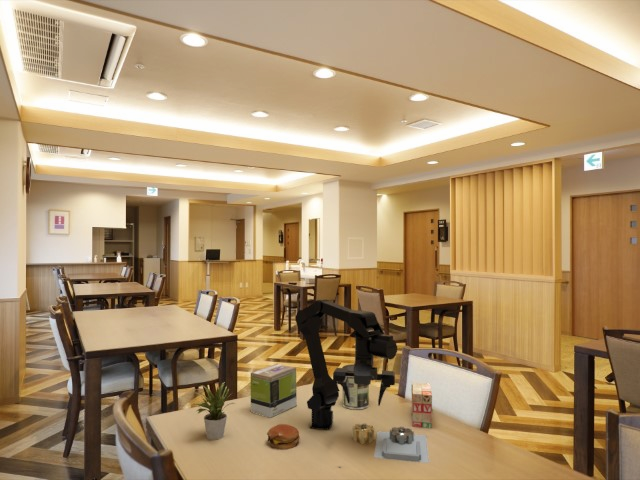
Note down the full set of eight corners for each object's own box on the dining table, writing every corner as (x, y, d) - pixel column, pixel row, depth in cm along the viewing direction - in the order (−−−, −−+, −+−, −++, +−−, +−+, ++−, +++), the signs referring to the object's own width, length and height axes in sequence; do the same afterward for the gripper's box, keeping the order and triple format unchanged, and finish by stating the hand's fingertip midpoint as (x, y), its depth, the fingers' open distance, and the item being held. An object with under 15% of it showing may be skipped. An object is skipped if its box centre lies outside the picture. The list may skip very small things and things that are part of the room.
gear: (389, 443, 130) (389, 433, 131) (390, 433, 138) (390, 423, 138) (413, 445, 129) (413, 435, 129) (413, 435, 136) (413, 425, 136)
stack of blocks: (411, 407, 164) (411, 374, 164) (428, 408, 163) (428, 375, 163) (412, 430, 143) (412, 393, 143) (432, 432, 142) (432, 394, 142)
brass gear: (351, 446, 131) (351, 429, 131) (353, 437, 137) (354, 420, 137) (373, 448, 130) (373, 431, 130) (374, 439, 136) (375, 422, 136)
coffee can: (367, 400, 171) (367, 364, 171) (370, 410, 161) (370, 371, 161) (341, 399, 171) (341, 363, 172) (342, 409, 161) (342, 371, 161)
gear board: (373, 461, 121) (374, 452, 122) (377, 434, 139) (377, 426, 139) (429, 467, 119) (429, 457, 119) (426, 439, 136) (426, 430, 136)
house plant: (199, 425, 146) (200, 376, 146) (240, 425, 145) (241, 376, 146) (185, 444, 132) (186, 389, 132) (230, 445, 131) (231, 390, 132)
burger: (296, 435, 139) (297, 420, 139) (301, 448, 130) (301, 432, 130) (265, 437, 137) (265, 422, 137) (268, 451, 128) (268, 435, 128)
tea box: (277, 400, 170) (277, 362, 170) (297, 406, 164) (297, 367, 164) (249, 412, 158) (249, 371, 158) (270, 418, 152) (270, 376, 152)
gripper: (330, 358, 128) (329, 411, 128) (394, 361, 125) (394, 416, 124) (335, 349, 139) (335, 398, 139) (395, 352, 136) (394, 403, 135)
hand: (363, 404), depth 134 cm, fingers open, 9 cm apart
